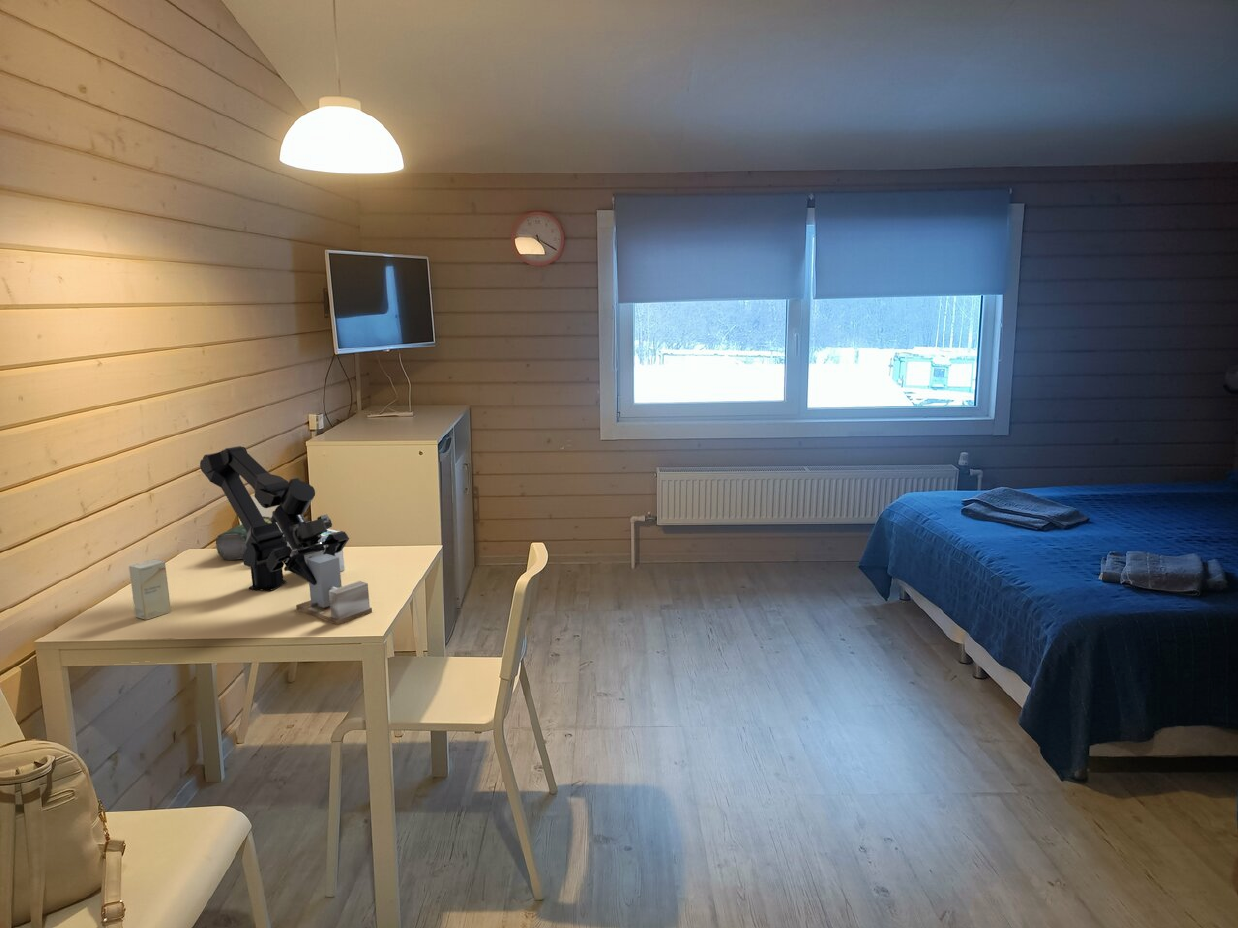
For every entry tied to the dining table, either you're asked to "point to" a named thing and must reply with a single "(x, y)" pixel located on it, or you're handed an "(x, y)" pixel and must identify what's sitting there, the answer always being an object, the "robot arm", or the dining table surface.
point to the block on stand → (342, 604)
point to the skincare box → (150, 589)
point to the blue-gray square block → (324, 578)
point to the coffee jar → (233, 542)
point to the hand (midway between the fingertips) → (325, 580)
